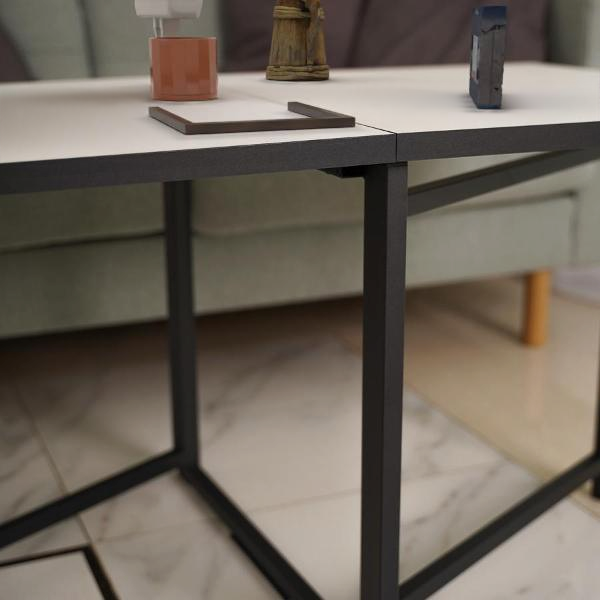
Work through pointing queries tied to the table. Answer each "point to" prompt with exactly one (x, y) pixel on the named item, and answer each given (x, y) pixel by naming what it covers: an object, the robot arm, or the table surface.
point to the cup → (183, 68)
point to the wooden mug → (298, 42)
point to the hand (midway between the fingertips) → (167, 58)
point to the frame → (258, 121)
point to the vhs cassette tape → (487, 55)
